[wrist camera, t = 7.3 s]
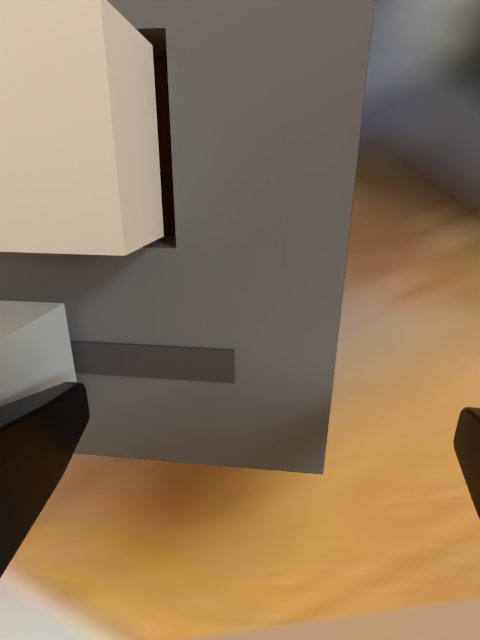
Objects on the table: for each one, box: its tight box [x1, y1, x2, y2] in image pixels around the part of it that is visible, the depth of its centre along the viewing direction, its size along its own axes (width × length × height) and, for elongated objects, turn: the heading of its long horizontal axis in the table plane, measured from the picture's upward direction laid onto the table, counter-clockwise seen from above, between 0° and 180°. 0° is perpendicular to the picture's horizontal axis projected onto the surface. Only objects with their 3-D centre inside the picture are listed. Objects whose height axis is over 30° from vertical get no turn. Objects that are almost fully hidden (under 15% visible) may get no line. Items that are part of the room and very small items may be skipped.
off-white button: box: [0, 0, 164, 256], centre depth 8 cm, size 4×4×2 cm
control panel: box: [0, 0, 375, 474], centre depth 9 cm, size 13×24×3 cm, turn 179°
